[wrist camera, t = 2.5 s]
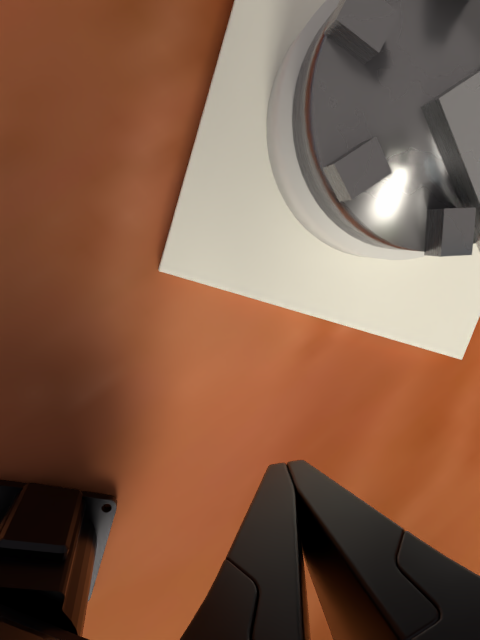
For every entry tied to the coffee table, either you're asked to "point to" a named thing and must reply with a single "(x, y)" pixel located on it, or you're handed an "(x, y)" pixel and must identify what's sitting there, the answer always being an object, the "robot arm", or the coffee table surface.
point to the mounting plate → (270, 238)
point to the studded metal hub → (394, 123)
